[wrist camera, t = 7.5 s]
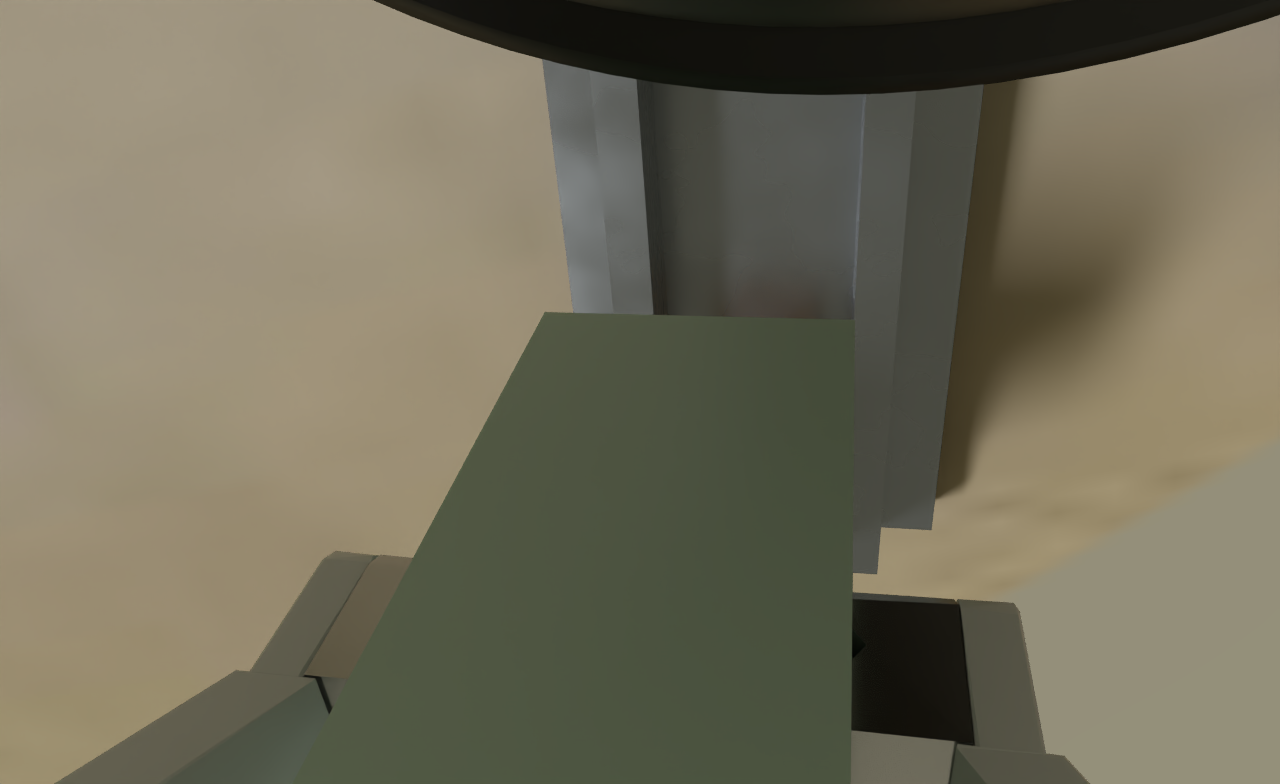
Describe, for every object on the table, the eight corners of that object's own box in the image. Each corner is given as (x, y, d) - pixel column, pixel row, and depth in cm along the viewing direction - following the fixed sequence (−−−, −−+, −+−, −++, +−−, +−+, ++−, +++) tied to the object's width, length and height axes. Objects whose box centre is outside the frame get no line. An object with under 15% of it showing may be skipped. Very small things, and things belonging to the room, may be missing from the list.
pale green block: (544, 311, 12) (153, 1043, 5) (854, 319, 11) (846, 1171, 5) (581, 567, 14) (337, 1302, 7) (841, 587, 13) (822, 1415, 7)
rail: (605, 486, 32) (583, 554, 29) (548, -7, 24) (511, 26, 21) (928, 503, 30) (936, 577, 27) (988, -25, 22) (1007, 9, 19)
